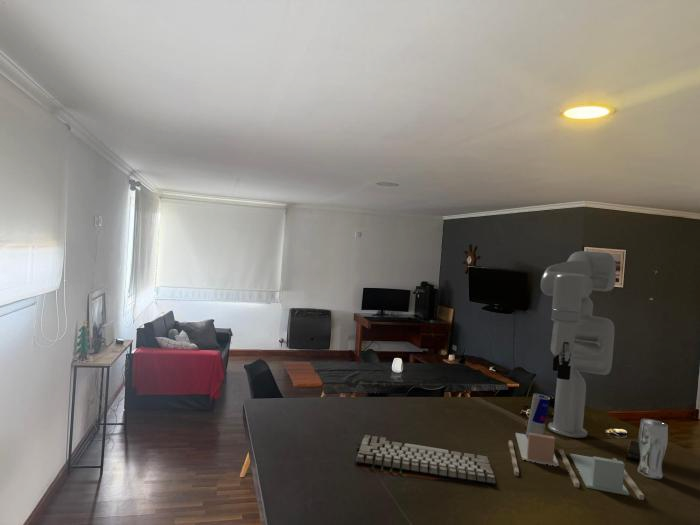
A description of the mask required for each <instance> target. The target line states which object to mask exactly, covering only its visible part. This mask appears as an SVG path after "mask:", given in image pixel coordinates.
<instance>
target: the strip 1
mask: <svg viewBox="0 0 700 525" xmlns="http://www.w3.org/2000/svg"><path fill="white" fill-rule="evenodd" d="M515 438H516V441H517V445H518V449H519V453H520V457H522V458H521V461H524V460H526V462H530V461H531V462H530V463H535V462H536V463H537V464H541V465H546V464H548V465H547V466H552V465H553V467H557V466H559V467H560V464H559V461H558V459H557V457H556V455H555V445H556V438H555V436H552V435H547V434H546V435H545V434H544V435H541V434H535V433H529V435H528V439H527V437H526V433H525V434H524V433H519V432H515Z"/></svg>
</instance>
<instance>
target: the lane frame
mask: <svg viewBox="0 0 700 525" xmlns="http://www.w3.org/2000/svg"><path fill="white" fill-rule="evenodd" d="M508 448H509V449H508V450H509V453H511V454H510V458H512V459H511V463H512V464H511V465H512V467H513V468H512V469H513V473H514V476H515V477H519V476H520V471H519V470H520V469H519V465H518V463H517V462H518V461H517V457H516V452H515V449H514V444H513V440H512V439H511V440H510V439H509V440H508ZM559 453H560V454H559ZM558 454H559V456H560V455H561V456H560V458H561V457H562V458H561V460H562V459H563V460H562V462H563V464H564V466H566V467H565V469H566V468H567V469H566V471H567V470H568V471H567V473H568V472H569V473H568V475H569V477H570V479H571V481H572V484H573V487H574V488H578V489H579V488H580V485H581V484H580V481H579V479H578V477H577V475H576V473H575V471H574V469H573V468H572V465H571V463H570V461H569V459H568V458H567V455H566V454H565V451H564V449H563V448H558ZM612 460H618V459H617V458H616V457H612ZM623 480H625V482H626V483H627V485H628V486H629V487H630V488H631V490H632V492H633V493H634V494H635V496H636V497H637V498H638V499H639V500H640V501H641V500H642V501H644V500H645V494H644V493H643V492H642V491H641V489H640V488H639V487H638V485H637V484H636V482H635V481H634V480H633V479H632V477H631V476H630V475H629V474H628V472H627V470H626V469H625V468H624V478H623Z"/></svg>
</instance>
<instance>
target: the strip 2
mask: <svg viewBox="0 0 700 525" xmlns="http://www.w3.org/2000/svg"><path fill="white" fill-rule="evenodd" d="M569 456H570V458H571V461H572V462H573V464H574V466H575V468H576V470H577V469H578V470H577V472H578V471H579V472H578V474H579V476H580V477H581V479H582V481H583V484H584V485H585V487H586V488H588V489H592V490H598V491H602V492H609V493H612V494H617V495H625V496H630V492H629V491H628V489H627V488H626V486H625V485H624V469H625V465H626V464H625V463H624V462H623V461H622V460H618V459H617V460H612V459H611V458H605V457H601V456H594V455H593V456H587V455H580V454H575V453H569Z"/></svg>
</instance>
